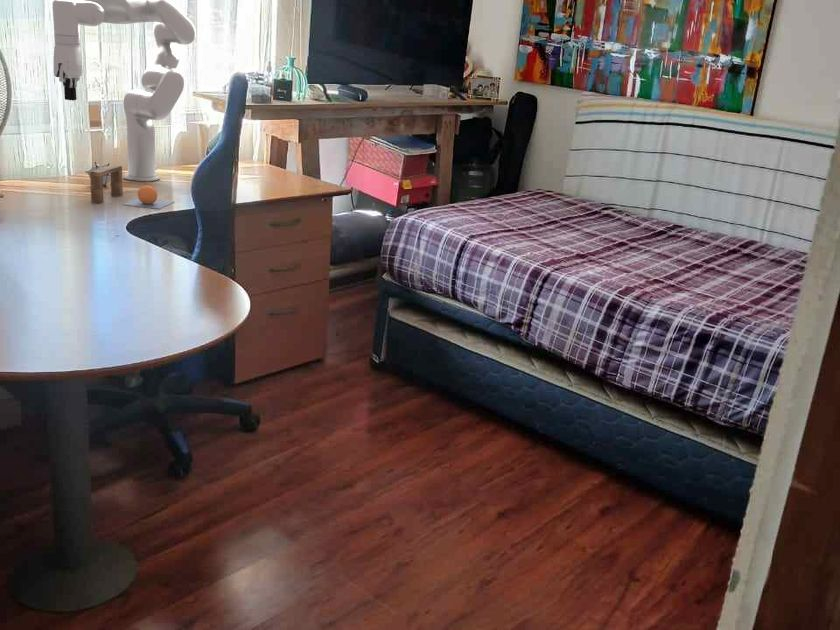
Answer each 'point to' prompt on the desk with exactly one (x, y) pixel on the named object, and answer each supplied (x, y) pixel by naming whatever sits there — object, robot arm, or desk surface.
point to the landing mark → (156, 205)
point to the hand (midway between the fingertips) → (70, 99)
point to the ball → (147, 194)
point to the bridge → (97, 182)
